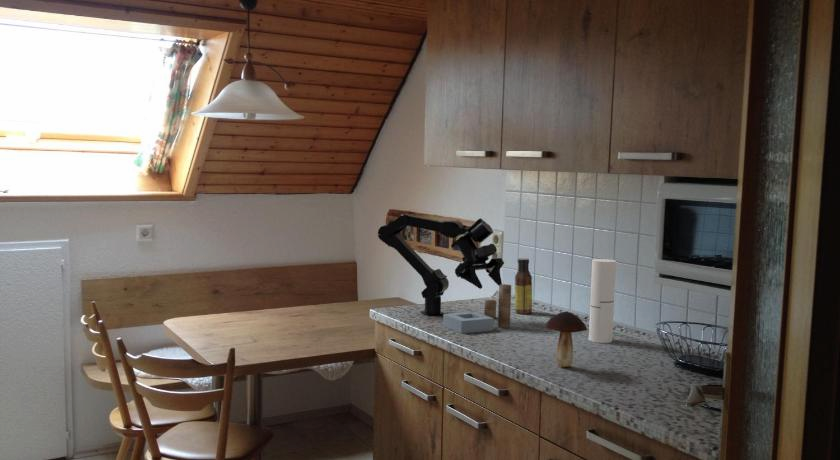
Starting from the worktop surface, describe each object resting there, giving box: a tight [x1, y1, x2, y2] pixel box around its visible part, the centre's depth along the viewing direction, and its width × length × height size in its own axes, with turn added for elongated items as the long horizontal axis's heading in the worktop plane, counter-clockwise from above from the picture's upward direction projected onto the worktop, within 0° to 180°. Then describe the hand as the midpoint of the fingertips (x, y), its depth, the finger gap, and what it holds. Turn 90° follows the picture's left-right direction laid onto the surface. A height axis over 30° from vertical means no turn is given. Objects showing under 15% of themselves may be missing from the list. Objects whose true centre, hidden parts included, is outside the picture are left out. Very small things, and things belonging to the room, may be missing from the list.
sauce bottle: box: [514, 257, 533, 315], centre depth 276 cm, size 7×6×20 cm
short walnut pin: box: [483, 299, 497, 319], centre depth 267 cm, size 4×4×6 cm
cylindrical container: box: [588, 258, 617, 344], centre depth 235 cm, size 7×7×25 cm
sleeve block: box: [442, 311, 495, 334], centre depth 249 cm, size 12×12×4 cm
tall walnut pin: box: [497, 283, 512, 329], centre depth 251 cm, size 4×4×14 cm
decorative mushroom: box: [545, 311, 588, 368], centre depth 203 cm, size 11×11×15 cm
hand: (491, 286), depth 256 cm, fingers open, 9 cm apart
